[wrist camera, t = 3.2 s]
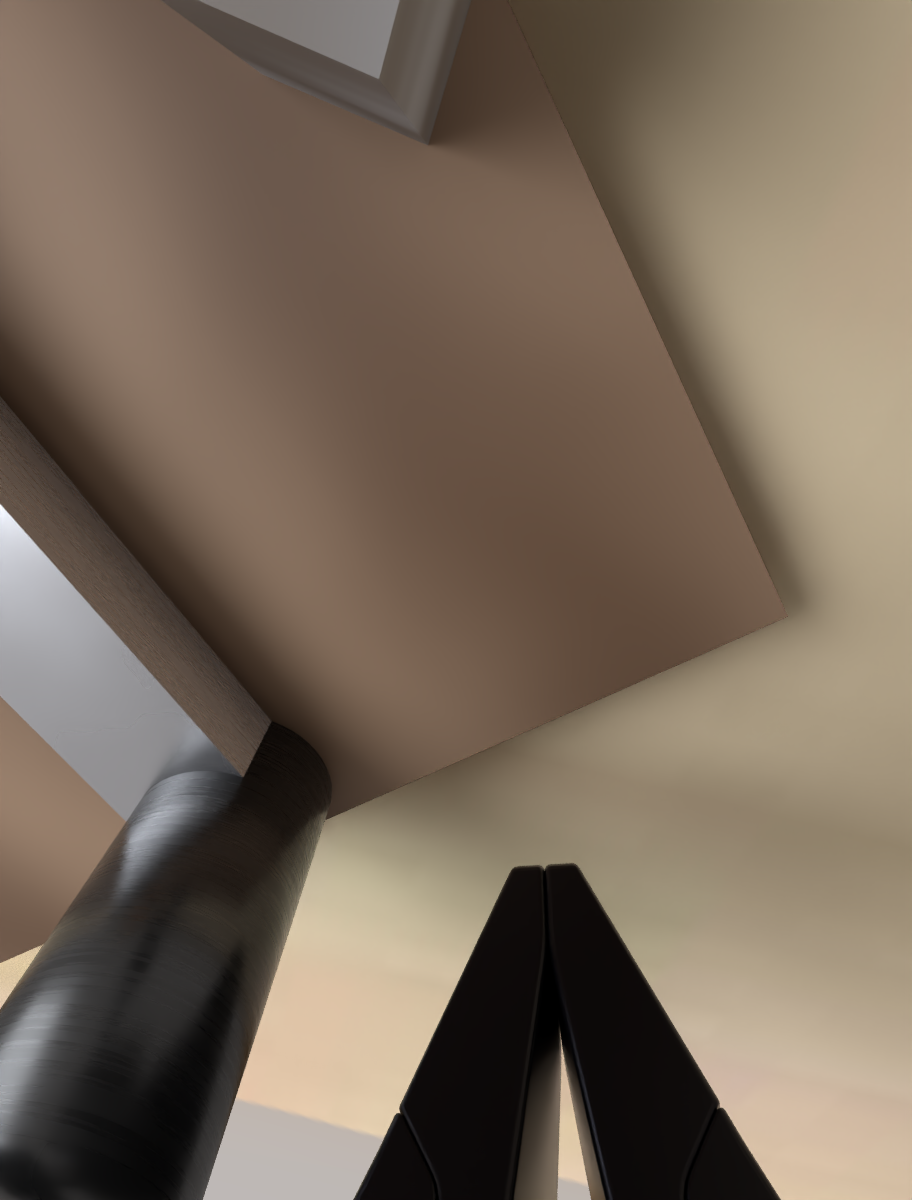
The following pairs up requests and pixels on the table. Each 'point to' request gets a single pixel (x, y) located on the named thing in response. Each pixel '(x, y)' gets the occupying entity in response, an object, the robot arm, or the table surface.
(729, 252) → the table surface
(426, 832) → the table surface
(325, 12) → the press bench
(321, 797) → the lever
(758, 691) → the table surface
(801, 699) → the table surface
